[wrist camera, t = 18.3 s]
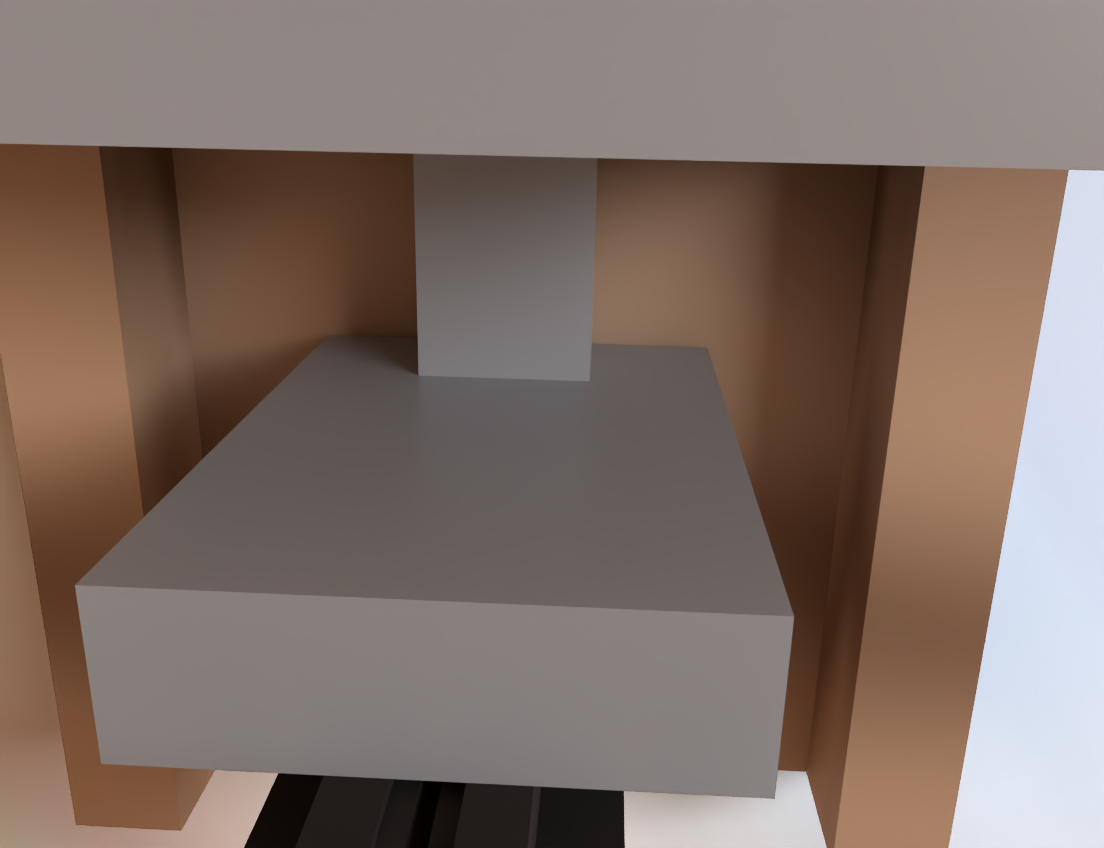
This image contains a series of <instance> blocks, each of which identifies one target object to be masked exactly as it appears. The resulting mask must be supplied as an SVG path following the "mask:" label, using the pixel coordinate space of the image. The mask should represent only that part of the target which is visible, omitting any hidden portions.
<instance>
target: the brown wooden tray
mask: <svg viewBox="0 0 1104 848" xmlns="http://www.w3.org/2000/svg"><path fill="white" fill-rule="evenodd" d="M1068 171H1069V170H1062V169H1021V168H981V167H940V166H899V165H858V164H817V163H776V162H735V161H694V160H654V159H613V158H598V166H597V197H596V228H595V259H594V290H593V320H592V344H622V345H653V346H684V347H707V348H708V352H709V355H710V358H711V361H712V364H713V367H714V370H715V373H716V376H717V379H718V382H719V386H720V389H721V392H722V395H723V398H724V401H725V404H726V407H727V410H728V413H729V416H730V420H731V423H732V426H733V429H734V432H735V435H736V438H737V441H738V444H739V447H740V451H741V454H742V457H743V460H744V463H745V466H746V469H747V472H748V475H749V478H750V481H751V485H752V488H753V491H754V494H755V497H756V500H757V503H758V506H759V509H760V512H761V515H762V519H763V522H764V525H765V528H766V531H767V534H768V537H769V540H770V543H771V546H772V549H773V553H774V556H775V559H776V562H777V565H778V568H779V571H780V574H781V577H782V580H783V583H784V587H785V590H786V593H787V596H788V599H789V602H790V605H791V608H792V611H793V614H794V623H793V632H792V642H791V651H790V660H789V669H788V679H787V688H786V697H785V706H784V716H783V725H782V734H781V743H780V753H779V762H778V770H787V771H806V772H807V776H808V779H809V783H810V787H811V790H812V794H813V798H814V802H815V805H816V809H817V813H818V816H819V820H820V824H821V827H822V831H823V835H824V839H825V842H826V846H827V848H948V846H949V841H950V835H951V829H952V824H953V818H954V813H955V807H956V801H957V796H958V790H959V784H960V779H961V773H962V768H963V762H964V756H965V751H966V745H967V739H968V734H969V728H970V722H971V717H972V711H973V706H974V700H975V694H976V689H977V683H978V677H979V672H980V666H981V661H982V655H983V649H984V644H985V638H986V632H987V627H988V621H989V616H990V610H991V604H992V599H993V593H994V587H995V582H996V576H997V570H998V565H999V559H1000V554H1001V548H1002V542H1003V537H1004V531H1005V525H1006V520H1007V514H1008V509H1009V503H1010V497H1011V492H1012V486H1013V480H1014V475H1015V469H1016V463H1017V458H1018V452H1019V447H1020V441H1021V435H1022V430H1023V424H1024V418H1025V413H1026V407H1027V402H1028V396H1029V390H1030V385H1031V379H1032V373H1033V368H1034V362H1035V357H1036V351H1037V345H1038V340H1039V334H1040V328H1041V323H1042V317H1043V311H1044V306H1045V300H1046V295H1047V289H1048V283H1049V278H1050V272H1051V266H1052V261H1053V255H1054V250H1055V244H1056V238H1057V233H1058V227H1059V221H1060V216H1061V210H1062V204H1063V199H1064V193H1065V188H1066V182H1067V176H1068ZM328 335H344V336H375V337H406V338H418V330H417V288H416V247H415V205H414V164H413V154H408V153H368V152H327V151H286V150H245V149H204V148H163V147H122V146H81V145H41V144H0V353H1V360H2V366H3V372H4V378H5V385H6V391H7V397H8V403H9V409H10V416H11V422H12V428H13V434H14V441H15V447H16V453H17V459H18V466H19V472H20V478H21V484H22V490H23V497H24V503H25V509H26V515H27V522H28V528H29V534H30V540H31V547H32V553H33V559H34V565H35V572H36V578H37V584H38V590H39V596H40V603H41V609H42V615H43V621H44V628H45V634H46V640H47V646H48V653H49V659H50V665H51V671H52V678H53V684H54V690H55V696H56V702H57V709H58V715H59V721H60V727H61V734H62V740H63V746H64V752H65V759H66V765H67V771H68V777H69V783H70V790H71V796H72V802H73V808H74V815H75V821H76V825H87V826H105V827H124V828H142V829H161V830H179V831H181V830H182V828H183V826H184V825H185V823H186V821H187V819H188V817H189V816H190V814H191V812H192V810H193V808H194V807H195V805H196V803H197V801H198V799H199V798H200V796H201V794H202V792H203V790H204V789H205V787H206V785H207V783H208V781H209V780H210V778H211V776H212V774H213V772H214V771H215V770H208V769H189V768H170V767H150V766H131V765H111V764H101V759H100V752H99V746H98V739H97V732H96V725H95V718H94V712H93V705H92V698H91V691H90V684H89V678H88V671H87V664H86V657H85V651H84V644H83V637H82V630H81V623H80V617H79V610H78V603H77V596H76V589H75V584H77V583H78V582H79V581H80V580H81V579H82V578H83V577H84V576H85V575H86V574H87V573H88V572H89V571H90V570H91V569H92V568H93V567H94V566H95V565H96V564H97V563H98V562H99V561H100V560H101V559H102V558H103V557H104V556H105V555H106V554H107V553H108V552H109V551H110V550H111V549H112V548H113V547H114V546H115V545H116V544H117V543H118V542H119V541H120V540H121V539H122V538H123V537H124V536H125V535H126V534H127V533H128V532H129V531H130V530H131V529H132V528H133V527H134V526H135V525H136V524H137V523H138V522H139V521H140V520H141V519H142V518H143V517H145V516H146V515H147V514H148V513H149V512H150V511H151V510H152V509H153V508H154V507H155V506H156V505H157V504H158V503H159V502H160V501H161V500H162V499H163V498H164V497H165V496H166V495H167V494H168V493H169V492H170V491H171V490H172V489H173V488H174V487H175V486H176V485H177V484H178V483H179V482H180V481H181V480H182V479H183V478H184V477H185V476H186V475H187V474H188V473H189V472H190V471H191V470H192V469H193V468H194V467H195V466H196V465H197V464H198V463H199V462H200V461H201V460H202V459H203V458H204V457H205V456H206V455H207V454H208V453H209V452H210V451H211V450H213V449H214V448H215V447H216V446H217V445H218V444H219V443H220V442H221V441H222V440H223V439H224V438H225V437H226V436H227V435H228V434H229V433H230V432H231V431H232V430H233V429H234V428H235V427H236V426H237V425H238V424H239V423H240V422H241V421H242V420H243V419H244V418H245V417H246V416H247V415H248V414H249V413H250V412H251V411H252V410H253V409H254V408H255V407H256V406H257V405H258V404H259V403H260V402H261V401H262V400H263V399H264V398H265V397H266V396H267V395H268V394H269V393H270V392H271V391H272V390H273V389H274V388H275V387H276V386H277V385H278V384H279V383H281V382H282V381H283V380H284V379H285V378H286V377H287V376H288V375H289V374H290V373H291V372H292V371H293V370H294V369H295V368H296V367H297V366H298V365H299V364H300V363H301V362H302V361H303V360H304V359H305V358H306V357H307V356H308V355H309V354H310V353H311V352H312V351H313V350H314V349H315V348H316V347H317V346H318V345H319V344H320V343H321V342H322V341H323V340H324V339H325V338H326V337H327V336H328Z"/></svg>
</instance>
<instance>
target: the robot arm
mask: <svg viewBox="0 0 1104 848" xmlns="http://www.w3.org/2000/svg"><path fill="white" fill-rule="evenodd" d="M244 848H625V843H624V791H616V790H597V789H578V788H558V787H539V786H519V785H500V784H480V783H461V782H442V781H422V780H403V779H383V778H364V777H344V776H325V775H306V774H286V773H278V775H277V778H276V780H275V782H274V784H273V786H272V788H271V791H270V793H269V795H268V797H267V799H266V801H265V804H264V806H263V808H262V810H261V812H260V814H259V817H258V819H257V821H256V823H255V825H254V827H253V829H252V832H251V834H250V836H249V838H248V840H247V842H246V845H245V847H244Z"/></svg>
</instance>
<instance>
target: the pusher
mask: <svg viewBox="0 0 1104 848" xmlns="http://www.w3.org/2000/svg"><path fill="white" fill-rule="evenodd" d="M0 144H41V145H81V146H122V147H163V148H204V149H245V150H286V151H327V152H368V153H408V154H413V164H414V205H415V247H416V288H417V330H418V338H406V337H375V336H344V335H328V336H327V337H326V338H325V339H324V340H323V341H322V342H321V343H320V344H319V345H318V346H317V347H316V348H315V349H314V350H313V351H312V352H311V353H310V354H309V355H308V356H307V357H306V358H305V359H304V360H303V361H302V362H301V363H300V364H299V365H298V366H297V367H296V368H295V369H294V370H293V371H292V372H291V373H290V374H289V375H288V376H287V377H286V378H285V379H284V380H283V381H282V382H281V383H279V384H278V385H277V386H276V387H275V388H274V389H273V390H272V391H271V392H270V393H269V394H268V395H267V396H266V397H265V398H264V399H263V400H262V401H261V402H260V403H259V404H258V405H257V406H256V407H255V408H254V409H253V410H252V411H251V412H250V413H249V414H248V415H247V416H246V417H245V418H244V419H243V420H242V421H241V422H240V423H239V424H238V425H237V426H236V427H235V428H234V429H233V430H232V431H231V432H230V433H229V434H228V435H227V436H226V437H225V438H224V439H223V440H222V441H221V442H220V443H219V444H218V445H217V446H216V447H215V448H214V449H213V450H211V451H210V452H209V453H208V454H207V455H206V456H205V457H204V458H203V459H202V460H201V461H200V462H199V463H198V464H197V465H196V466H195V467H194V468H193V469H192V470H191V471H190V472H189V473H188V474H187V475H186V476H185V477H184V478H183V479H182V480H181V481H180V482H179V483H178V484H177V485H176V486H175V487H174V488H173V489H172V490H171V491H170V492H169V493H168V494H167V495H166V496H165V497H164V498H163V499H162V500H161V501H160V502H159V503H158V504H157V505H156V506H155V507H154V508H153V509H152V510H151V511H150V512H149V513H148V514H147V515H146V516H145V517H143V518H142V519H141V520H140V521H139V522H138V523H137V524H136V525H135V526H134V527H133V528H132V529H131V530H130V531H129V532H128V533H127V534H126V535H125V536H124V537H123V538H122V539H121V540H120V541H119V542H118V543H117V544H116V545H115V546H114V547H113V548H112V549H111V550H110V551H109V552H108V553H107V554H106V555H105V556H104V557H103V558H102V559H101V560H100V561H99V562H98V563H97V564H96V565H95V566H94V567H93V568H92V569H91V570H90V571H89V572H88V573H87V574H86V575H85V576H84V577H83V578H82V579H81V580H80V581H79V582H78V583H77V584H75V589H76V596H77V603H78V610H79V617H80V623H81V630H82V637H83V644H84V651H85V657H86V664H87V671H88V678H89V684H90V691H91V698H92V705H93V712H94V718H95V725H96V732H97V739H98V746H99V752H100V759H101V764H111V765H131V766H150V767H170V768H189V769H208V770H228V771H247V772H267V773H286V774H306V775H325V776H344V777H364V778H383V779H403V780H422V781H442V782H461V783H480V784H500V785H519V786H539V787H558V788H578V789H597V790H616V791H636V792H655V793H675V794H694V795H714V796H733V797H752V798H772V799H775V790H776V781H777V771H778V762H779V753H780V743H781V734H782V725H783V716H784V706H785V697H786V688H787V679H788V669H789V660H790V651H791V642H792V632H793V623H794V614H793V611H792V608H791V605H790V602H789V599H788V596H787V593H786V590H785V587H784V583H783V580H782V577H781V574H780V571H779V568H778V565H777V562H776V559H775V556H774V553H773V549H772V546H771V543H770V540H769V537H768V534H767V531H766V528H765V525H764V522H763V519H762V515H761V512H760V509H759V506H758V503H757V500H756V497H755V494H754V491H753V488H752V485H751V481H750V478H749V475H748V472H747V469H746V466H745V463H744V460H743V457H742V454H741V451H740V447H739V444H738V441H737V438H736V435H735V432H734V429H733V426H732V423H731V420H730V416H729V413H728V410H727V407H726V404H725V401H724V398H723V395H722V392H721V389H720V386H719V382H718V379H717V376H716V373H715V370H714V367H713V364H712V361H711V358H710V355H709V352H708V348H707V347H684V346H653V345H622V344H592V320H593V290H594V259H595V228H596V197H597V166H598V158H613V159H654V160H694V161H735V162H776V163H817V164H858V165H899V166H940V167H981V168H1021V169H1062V170H1103V171H1104V0H0Z"/></svg>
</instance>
